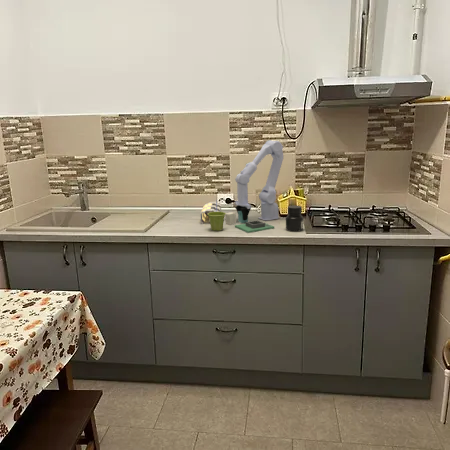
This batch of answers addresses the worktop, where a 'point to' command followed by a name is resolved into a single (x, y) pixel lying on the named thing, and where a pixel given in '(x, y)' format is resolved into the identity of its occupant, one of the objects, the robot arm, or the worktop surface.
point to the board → (254, 226)
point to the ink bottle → (294, 219)
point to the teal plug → (241, 217)
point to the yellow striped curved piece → (210, 209)
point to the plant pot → (216, 220)
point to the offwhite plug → (230, 218)
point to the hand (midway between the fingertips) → (243, 219)
